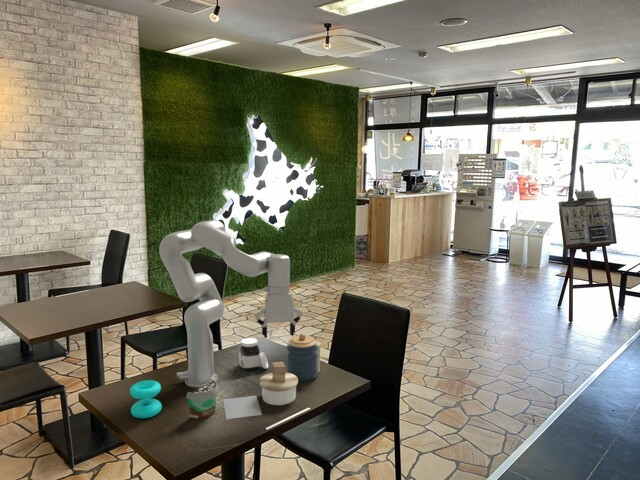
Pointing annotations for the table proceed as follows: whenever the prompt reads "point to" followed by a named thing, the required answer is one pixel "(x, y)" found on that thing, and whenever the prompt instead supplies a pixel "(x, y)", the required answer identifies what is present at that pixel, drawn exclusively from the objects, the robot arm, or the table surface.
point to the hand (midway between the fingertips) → (278, 335)
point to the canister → (302, 357)
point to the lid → (278, 379)
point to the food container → (203, 401)
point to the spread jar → (251, 355)
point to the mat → (241, 407)
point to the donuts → (145, 399)
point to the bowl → (279, 396)
